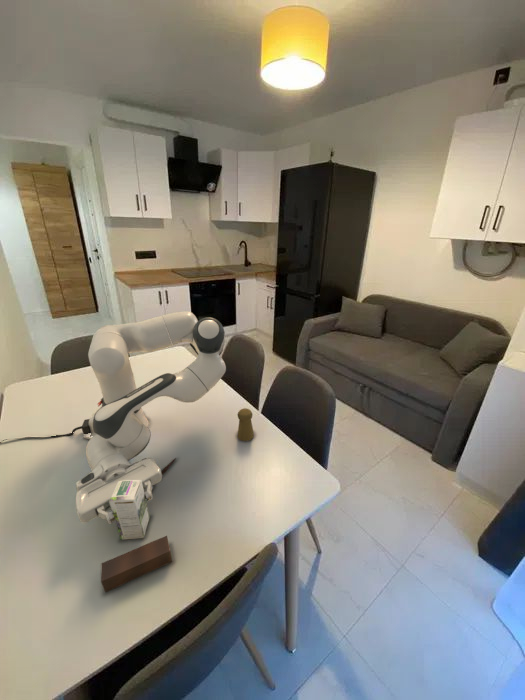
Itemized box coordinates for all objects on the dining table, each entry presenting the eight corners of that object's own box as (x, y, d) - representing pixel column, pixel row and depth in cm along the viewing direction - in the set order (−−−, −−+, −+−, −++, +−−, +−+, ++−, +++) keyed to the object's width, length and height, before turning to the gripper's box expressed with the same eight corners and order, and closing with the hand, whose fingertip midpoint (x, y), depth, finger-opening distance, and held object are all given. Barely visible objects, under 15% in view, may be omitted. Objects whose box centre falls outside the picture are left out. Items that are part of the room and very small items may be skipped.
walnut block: (105, 592, 62) (100, 581, 60) (105, 573, 65) (101, 563, 64) (172, 561, 67) (169, 551, 66) (169, 545, 71) (166, 535, 69)
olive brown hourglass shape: (251, 442, 103) (251, 417, 99) (235, 439, 104) (234, 415, 100) (255, 431, 109) (255, 407, 104) (239, 428, 110) (239, 405, 105)
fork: (179, 460, 96) (178, 455, 95) (143, 499, 82) (141, 494, 82) (173, 458, 97) (172, 453, 96) (136, 496, 83) (134, 491, 83)
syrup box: (128, 518, 77) (116, 480, 71) (151, 517, 77) (141, 478, 71) (120, 540, 72) (107, 501, 66) (145, 538, 72) (134, 499, 66)
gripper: (152, 463, 87) (173, 493, 78) (75, 503, 75) (88, 545, 66) (149, 447, 85) (169, 476, 75) (68, 486, 73) (81, 527, 63)
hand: (131, 509), depth 70 cm, fingers closed on syrup box, 8 cm apart
